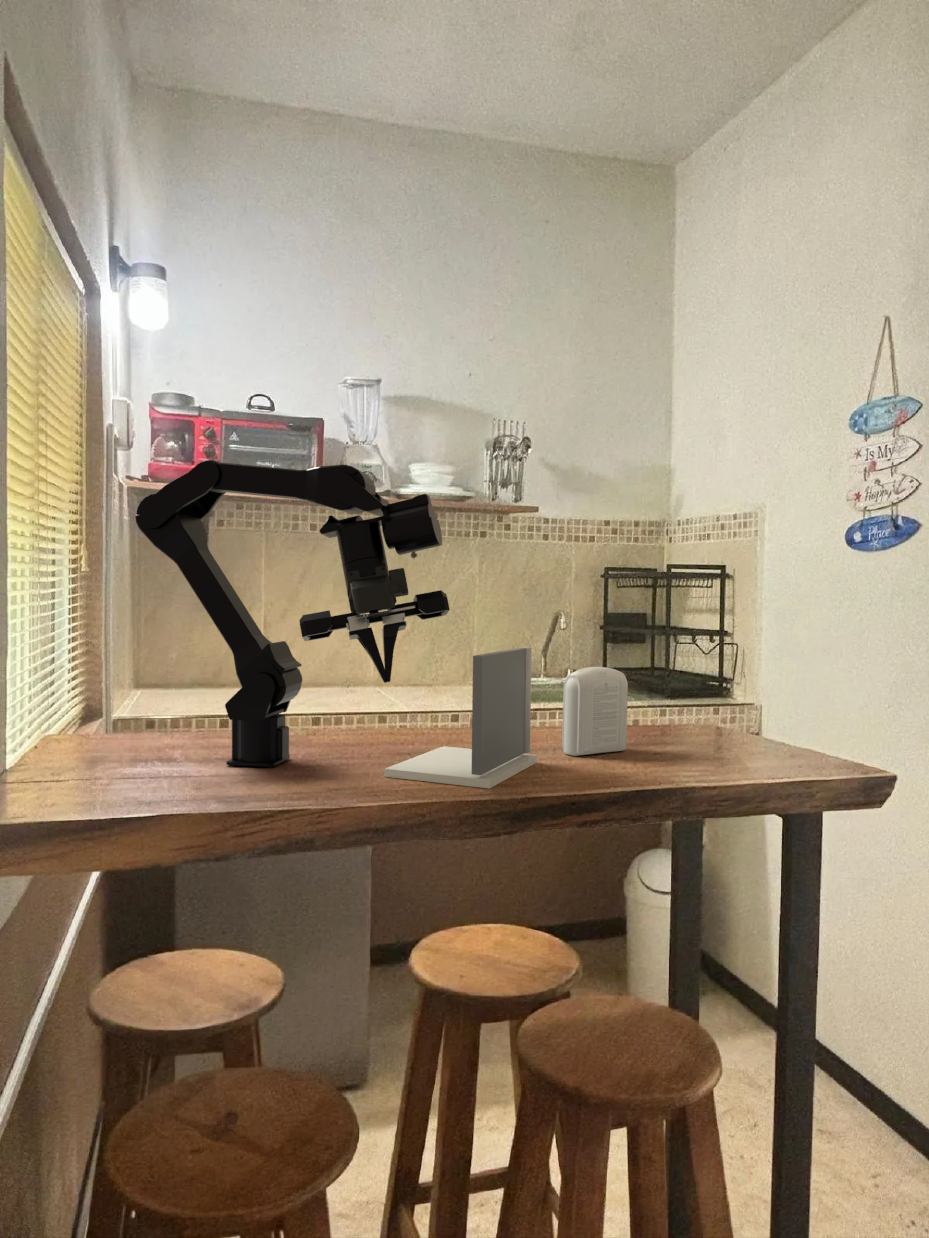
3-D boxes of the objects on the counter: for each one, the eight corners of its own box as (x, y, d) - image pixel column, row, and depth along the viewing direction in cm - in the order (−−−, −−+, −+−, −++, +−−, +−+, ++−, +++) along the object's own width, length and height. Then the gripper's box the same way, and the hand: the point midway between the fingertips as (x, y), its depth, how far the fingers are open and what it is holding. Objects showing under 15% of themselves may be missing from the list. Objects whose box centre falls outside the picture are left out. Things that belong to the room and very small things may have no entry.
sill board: (384, 776, 106) (384, 768, 106) (443, 753, 121) (443, 746, 121) (489, 788, 100) (489, 779, 100) (536, 762, 115) (536, 754, 115)
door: (459, 772, 101) (460, 655, 101) (509, 749, 117) (511, 646, 116) (484, 775, 100) (485, 656, 99) (532, 751, 115) (533, 647, 115)
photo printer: (610, 746, 128) (612, 664, 128) (631, 751, 124) (632, 666, 124) (557, 753, 122) (558, 667, 122) (577, 758, 119) (578, 669, 118)
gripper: (286, 564, 101) (310, 694, 99) (441, 537, 103) (466, 664, 102) (293, 579, 112) (315, 697, 110) (433, 555, 114) (456, 669, 113)
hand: (387, 682), depth 108 cm, fingers closed
